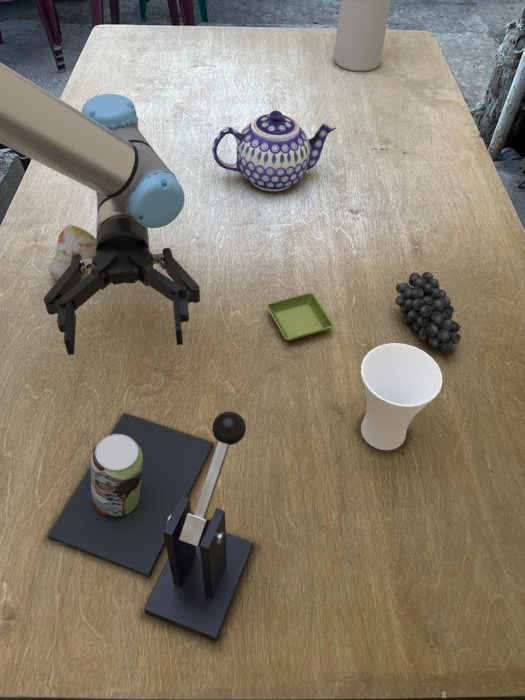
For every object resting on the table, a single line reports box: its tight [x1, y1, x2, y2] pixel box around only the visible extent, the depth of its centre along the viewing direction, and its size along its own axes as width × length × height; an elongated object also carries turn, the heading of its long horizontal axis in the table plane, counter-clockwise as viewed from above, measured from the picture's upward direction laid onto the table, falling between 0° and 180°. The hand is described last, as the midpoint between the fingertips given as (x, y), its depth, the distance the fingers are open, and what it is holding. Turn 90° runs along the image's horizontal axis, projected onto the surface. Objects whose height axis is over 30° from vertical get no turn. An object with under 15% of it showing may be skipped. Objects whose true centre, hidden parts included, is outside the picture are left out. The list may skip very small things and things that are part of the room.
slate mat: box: [46, 412, 214, 578], centre depth 83 cm, size 14×20×1 cm
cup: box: [360, 342, 443, 451], centre depth 85 cm, size 10×10×14 cm
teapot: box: [211, 110, 337, 192], centre depth 126 cm, size 25×15×15 cm, turn 98°
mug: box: [48, 224, 96, 281], centre depth 109 cm, size 8×10×10 cm
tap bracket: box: [143, 495, 254, 643], centre depth 70 cm, size 12×9×16 cm
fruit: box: [394, 271, 461, 356], centre depth 101 cm, size 9×8×15 cm
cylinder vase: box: [333, 0, 392, 72], centre depth 158 cm, size 12×12×25 cm
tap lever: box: [179, 410, 247, 547], centre depth 66 cm, size 14×4×4 cm, turn 160°
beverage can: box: [90, 434, 143, 518], centre depth 77 cm, size 6×7×12 cm
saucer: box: [265, 291, 335, 342], centre depth 103 cm, size 9×9×2 cm
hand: (124, 342), depth 78 cm, fingers open, 13 cm apart
